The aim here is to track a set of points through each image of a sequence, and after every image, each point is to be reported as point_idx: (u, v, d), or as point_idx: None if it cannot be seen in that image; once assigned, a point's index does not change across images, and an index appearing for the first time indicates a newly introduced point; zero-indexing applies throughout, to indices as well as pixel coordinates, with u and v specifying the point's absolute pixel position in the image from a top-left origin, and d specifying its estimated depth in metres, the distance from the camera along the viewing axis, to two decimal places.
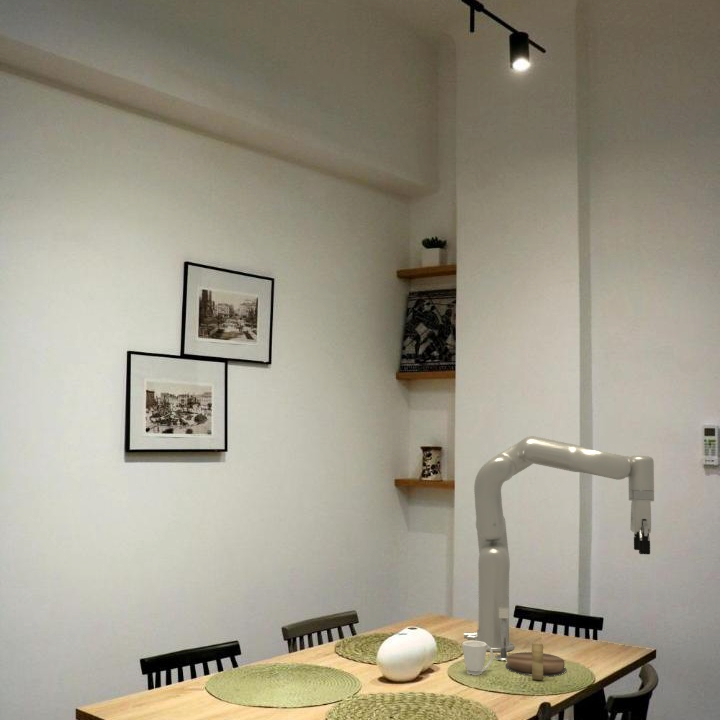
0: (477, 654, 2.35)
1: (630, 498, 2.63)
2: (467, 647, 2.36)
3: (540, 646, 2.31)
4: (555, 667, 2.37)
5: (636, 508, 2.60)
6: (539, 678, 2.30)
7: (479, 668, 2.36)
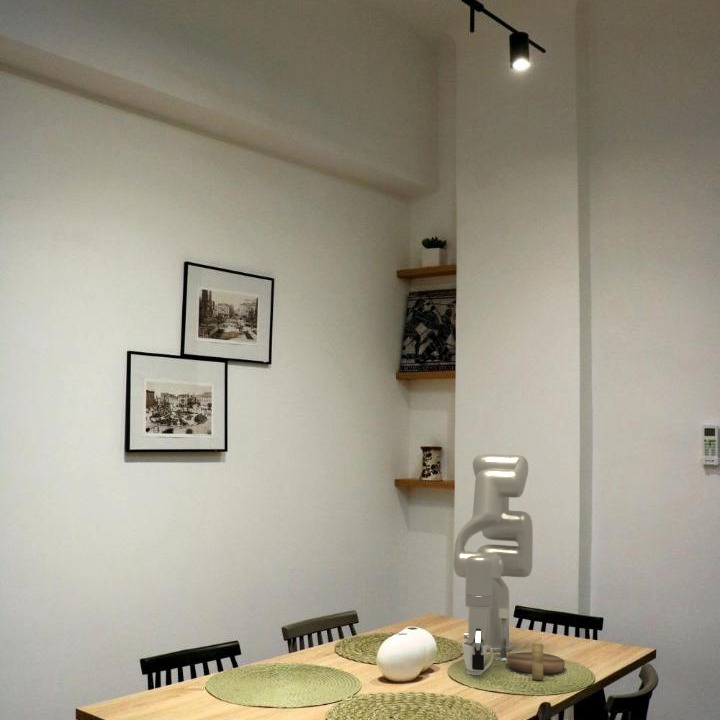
0: None
1: (466, 604, 2.39)
2: (467, 647, 2.36)
3: (540, 646, 2.31)
4: (555, 667, 2.37)
5: (470, 616, 2.35)
6: (539, 678, 2.30)
7: None
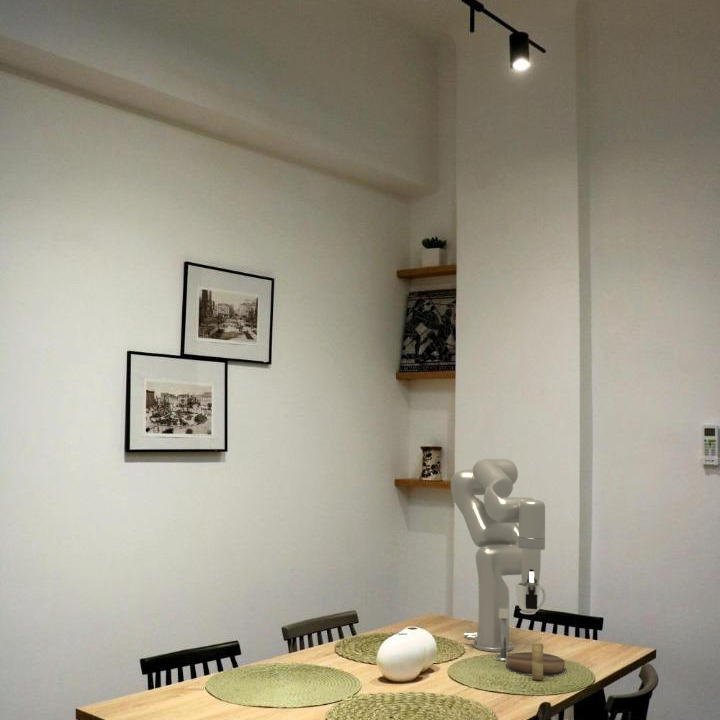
0: None
1: (519, 546, 2.46)
2: (521, 587, 2.43)
3: (540, 646, 2.31)
4: (555, 667, 2.37)
5: (523, 557, 2.42)
6: (539, 678, 2.30)
7: None
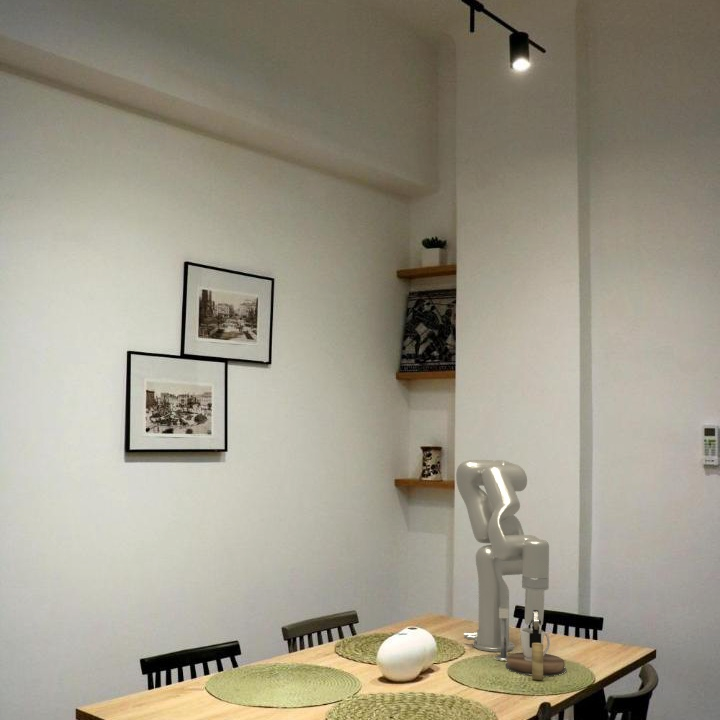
0: None
1: (523, 585, 2.45)
2: (525, 634, 2.42)
3: (540, 646, 2.31)
4: (555, 667, 2.37)
5: (528, 598, 2.42)
6: (539, 678, 2.30)
7: None
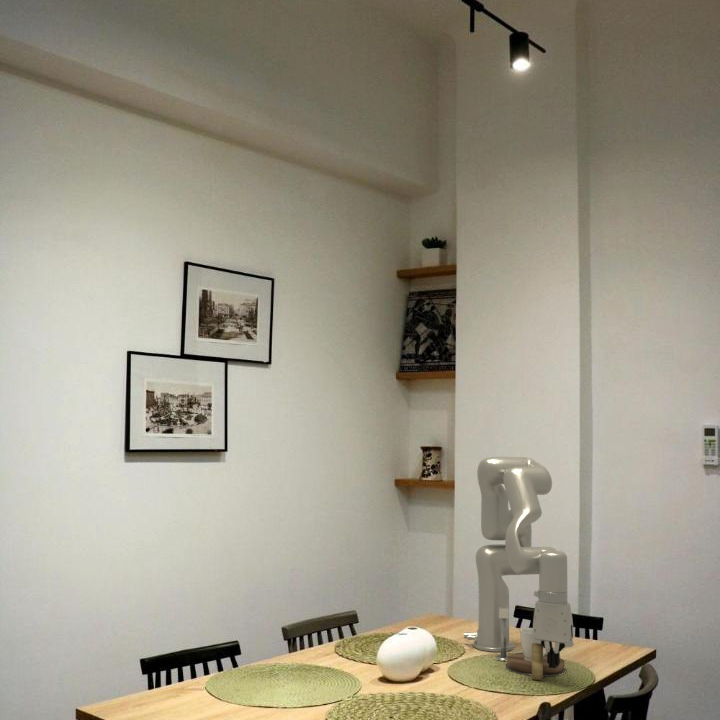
0: None
1: (553, 603, 2.28)
2: (525, 634, 2.42)
3: (540, 646, 2.31)
4: None
5: (566, 614, 2.27)
6: (539, 678, 2.30)
7: None
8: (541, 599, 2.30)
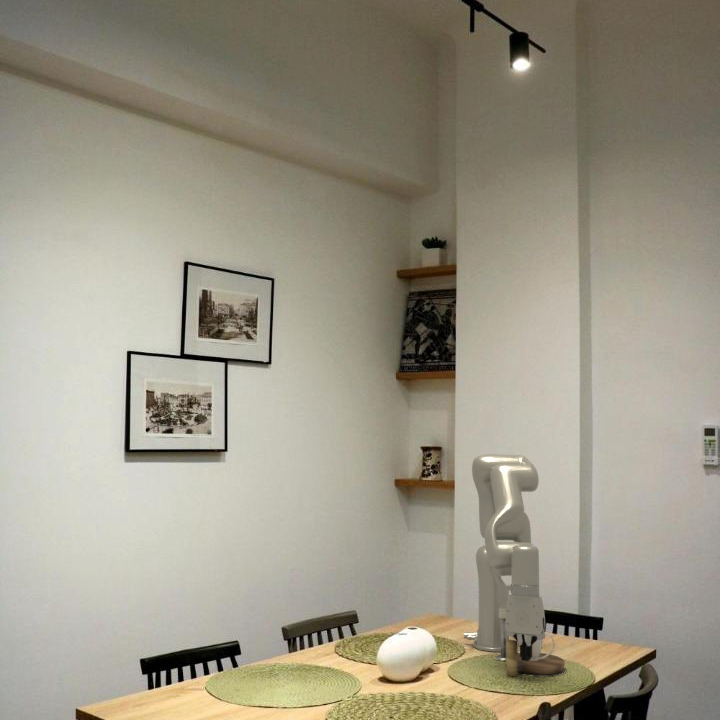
0: None
1: (525, 595, 2.31)
2: None
3: (511, 643, 2.34)
4: (539, 668, 2.36)
5: (538, 606, 2.31)
6: (510, 674, 2.34)
7: (532, 654, 2.42)
8: (513, 592, 2.34)
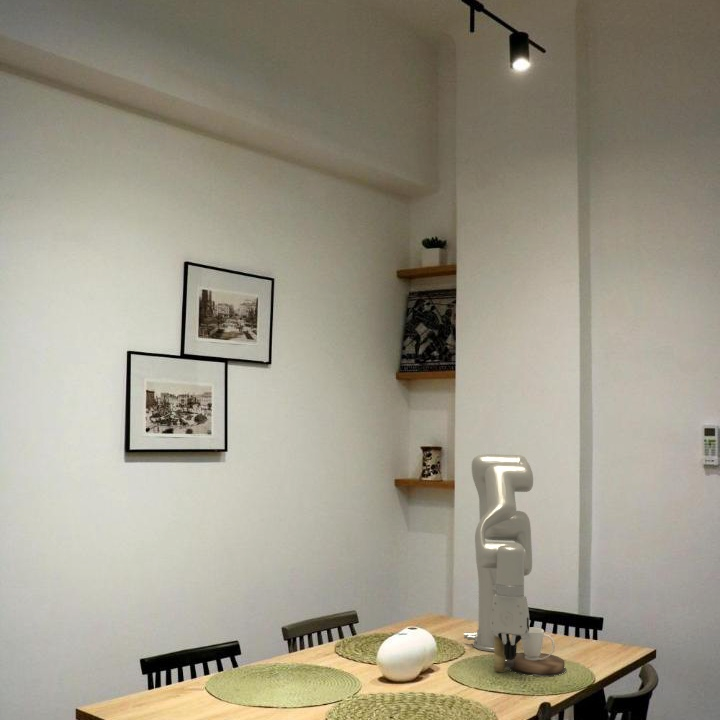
0: (525, 639, 2.43)
1: (510, 595, 2.34)
2: None
3: (497, 639, 2.39)
4: (528, 667, 2.37)
5: (522, 606, 2.33)
6: (496, 670, 2.38)
7: (529, 653, 2.43)
8: (498, 592, 2.36)
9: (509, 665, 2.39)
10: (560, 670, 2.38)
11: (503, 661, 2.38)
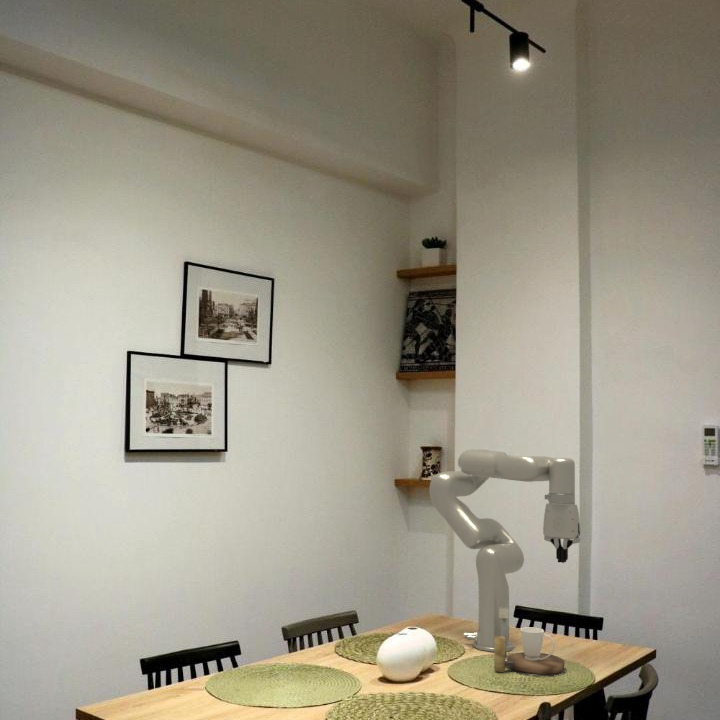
0: (525, 639, 2.43)
1: (562, 503, 2.51)
2: None
3: (497, 639, 2.39)
4: (528, 667, 2.37)
5: (574, 513, 2.50)
6: (496, 670, 2.38)
7: (529, 653, 2.43)
8: (551, 500, 2.53)
9: (509, 665, 2.39)
10: (560, 670, 2.38)
11: (503, 661, 2.38)
